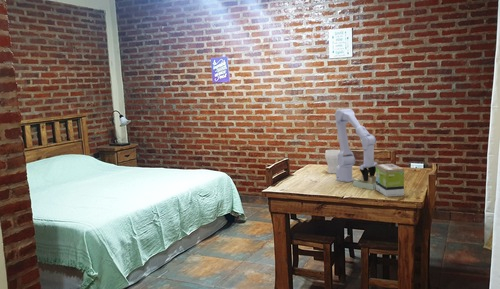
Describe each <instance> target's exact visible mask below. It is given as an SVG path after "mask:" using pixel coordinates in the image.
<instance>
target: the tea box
mask: <svg viewBox="0 0 500 289" xmlns="http://www.w3.org/2000/svg"><path fill="white" fill-rule="evenodd" d="M375 167H376V172H375V176H376V189H375V191H378V192H379V193H380V194H382V195H383V196H385V197H387V198H388V197H402V196H405V168H403V167H400V166H398V165H396V164H394V163H384V164H377V165H376V166H375Z"/></svg>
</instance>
